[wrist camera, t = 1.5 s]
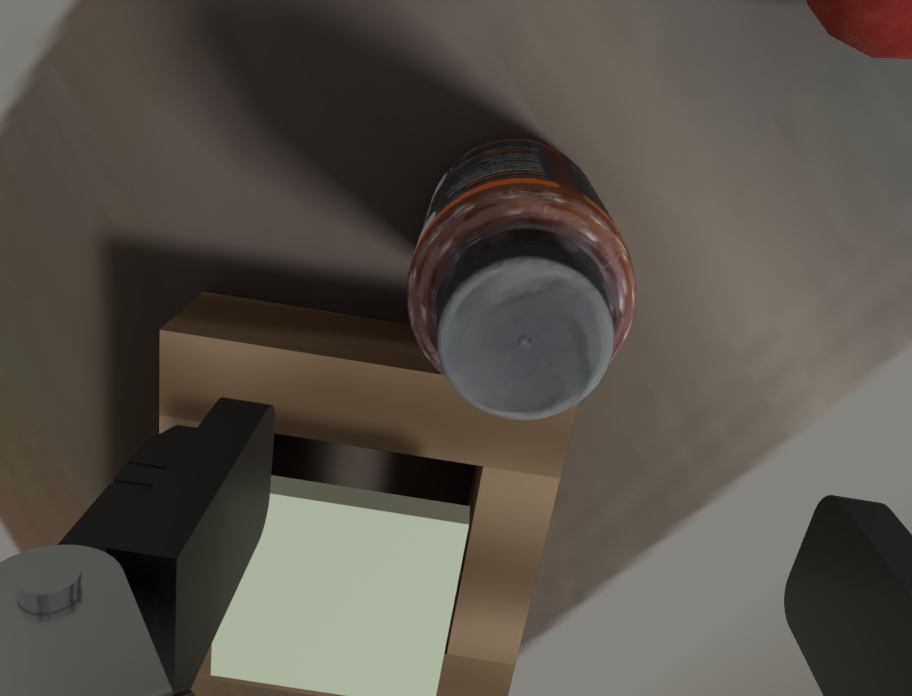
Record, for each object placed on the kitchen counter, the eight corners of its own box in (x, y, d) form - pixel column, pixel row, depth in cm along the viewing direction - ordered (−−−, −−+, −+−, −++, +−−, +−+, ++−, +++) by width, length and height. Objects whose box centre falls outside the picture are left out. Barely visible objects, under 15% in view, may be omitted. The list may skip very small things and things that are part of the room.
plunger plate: (228, 468, 25) (217, 485, 24) (470, 505, 25) (469, 524, 24) (220, 653, 28) (210, 675, 27) (435, 686, 28) (433, 709, 27)
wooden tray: (202, 291, 29) (159, 329, 25) (569, 350, 29) (579, 396, 26) (194, 603, 35) (158, 671, 31) (500, 650, 35) (500, 724, 31)
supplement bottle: (394, 209, 28) (332, 322, 17) (526, 97, 26) (547, 145, 15) (500, 331, 29) (502, 501, 19) (630, 233, 27) (714, 359, 17)
